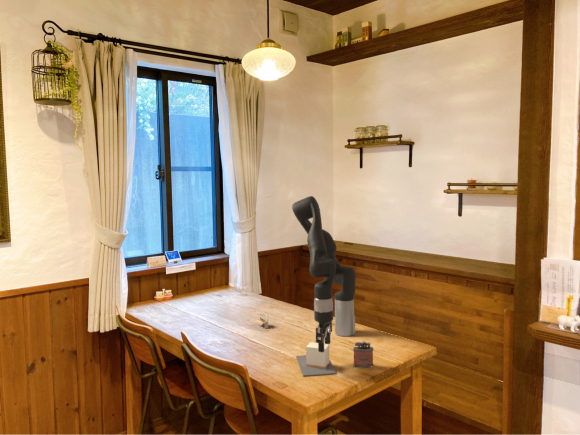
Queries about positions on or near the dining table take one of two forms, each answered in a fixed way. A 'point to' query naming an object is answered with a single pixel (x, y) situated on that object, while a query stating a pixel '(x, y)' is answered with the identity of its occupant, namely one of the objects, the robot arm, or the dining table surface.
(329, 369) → the mat
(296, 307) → the dining table surface
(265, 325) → the architectural model
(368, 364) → the lighter
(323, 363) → the block
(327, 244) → the robot arm
